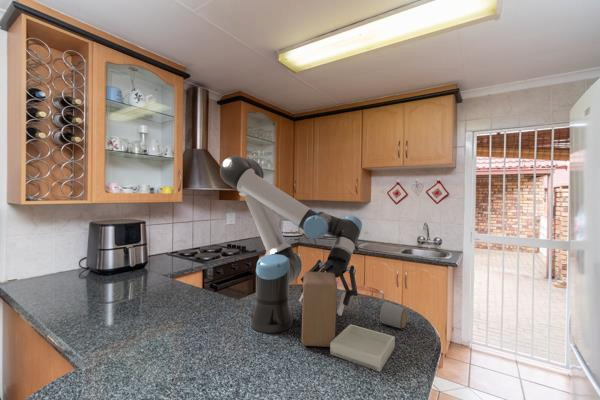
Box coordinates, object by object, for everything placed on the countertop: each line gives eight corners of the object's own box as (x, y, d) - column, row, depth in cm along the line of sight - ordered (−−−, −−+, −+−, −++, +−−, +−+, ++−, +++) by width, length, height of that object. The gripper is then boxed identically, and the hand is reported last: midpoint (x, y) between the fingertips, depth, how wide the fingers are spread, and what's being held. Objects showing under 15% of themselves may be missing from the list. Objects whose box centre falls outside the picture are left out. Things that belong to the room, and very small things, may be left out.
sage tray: (330, 354, 83) (330, 342, 83) (349, 334, 96) (350, 324, 96) (380, 371, 75) (380, 358, 75) (394, 348, 88) (394, 336, 88)
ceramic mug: (402, 332, 98) (403, 310, 98) (378, 326, 103) (379, 304, 103) (410, 322, 107) (411, 302, 107) (388, 316, 111) (389, 297, 111)
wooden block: (332, 329, 95) (335, 271, 93) (334, 348, 86) (337, 284, 83) (302, 327, 96) (304, 270, 93) (301, 346, 86) (303, 283, 83)
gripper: (377, 264, 98) (359, 324, 86) (314, 254, 111) (291, 304, 99) (372, 251, 93) (353, 312, 81) (307, 242, 107) (282, 293, 94)
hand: (319, 308), depth 90 cm, fingers closed on wooden block, 13 cm apart
